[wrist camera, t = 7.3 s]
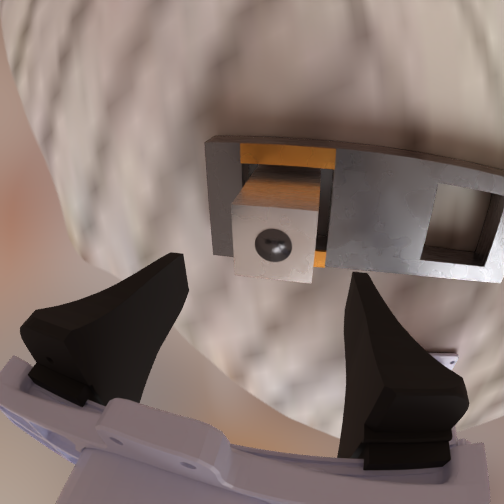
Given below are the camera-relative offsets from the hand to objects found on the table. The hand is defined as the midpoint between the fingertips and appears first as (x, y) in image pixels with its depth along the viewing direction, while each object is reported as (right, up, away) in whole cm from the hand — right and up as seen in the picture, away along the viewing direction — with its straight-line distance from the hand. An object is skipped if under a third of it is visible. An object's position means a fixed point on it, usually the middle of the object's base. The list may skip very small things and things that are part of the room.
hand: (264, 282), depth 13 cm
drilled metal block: (+2, +5, +8) cm, 10 cm away
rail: (+8, +4, +7) cm, 11 cm away
